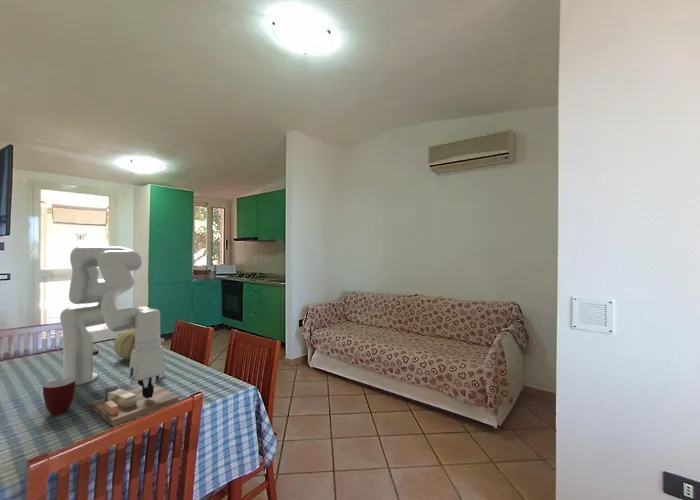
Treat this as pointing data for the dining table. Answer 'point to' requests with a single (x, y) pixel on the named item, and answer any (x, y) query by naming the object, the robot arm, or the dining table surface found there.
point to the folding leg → (120, 397)
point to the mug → (59, 395)
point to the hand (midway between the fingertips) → (147, 396)
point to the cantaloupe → (125, 344)
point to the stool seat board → (136, 405)
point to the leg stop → (111, 407)
